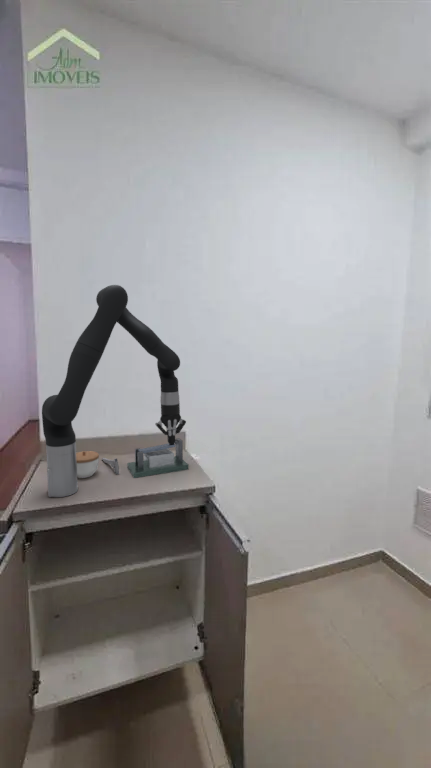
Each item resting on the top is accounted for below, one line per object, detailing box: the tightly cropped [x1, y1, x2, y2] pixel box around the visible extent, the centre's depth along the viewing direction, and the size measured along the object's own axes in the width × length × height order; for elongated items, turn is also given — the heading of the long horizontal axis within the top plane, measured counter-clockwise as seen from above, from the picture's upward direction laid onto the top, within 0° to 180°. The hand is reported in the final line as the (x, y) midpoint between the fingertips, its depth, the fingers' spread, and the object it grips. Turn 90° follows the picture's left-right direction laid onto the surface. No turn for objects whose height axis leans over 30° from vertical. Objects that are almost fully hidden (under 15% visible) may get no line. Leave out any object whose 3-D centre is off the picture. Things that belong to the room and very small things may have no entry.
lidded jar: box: [76, 450, 100, 479], centre depth 134 cm, size 11×11×9 cm
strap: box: [138, 442, 176, 454], centre depth 141 cm, size 14×3×1 cm, turn 115°
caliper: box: [101, 457, 120, 475], centre depth 143 cm, size 20×1×6 cm, turn 34°
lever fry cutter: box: [127, 437, 189, 479], centre depth 141 cm, size 22×12×11 cm, turn 115°
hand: (171, 443), depth 143 cm, fingers closed
